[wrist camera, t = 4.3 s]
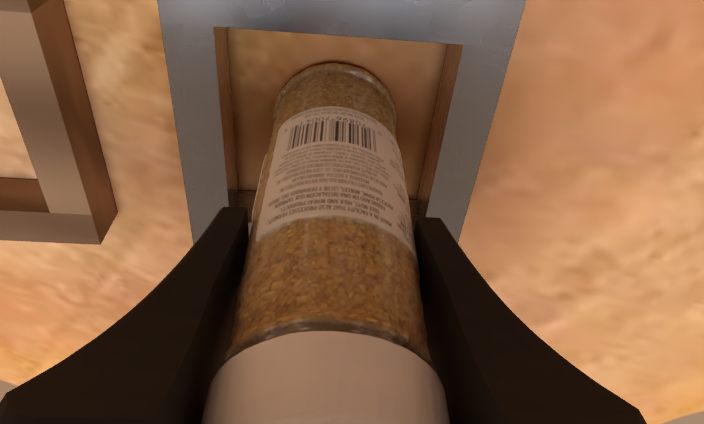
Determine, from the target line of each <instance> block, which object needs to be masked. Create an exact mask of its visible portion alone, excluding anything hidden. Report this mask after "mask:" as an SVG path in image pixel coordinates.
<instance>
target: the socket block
mask: <svg viewBox="0 0 704 424" xmlns="http://www.w3.org/2000/svg"><path fill="white" fill-rule="evenodd" d="M525 2H526V0H157V3H158V10H159V16H160V23H161V30H162V37H163V43H164V50H165V57H166V63H167V70H168V77H169V83H170V90H171V97H172V104H173V110H174V117H175V124H176V130H177V137H178V144H179V151H180V157H181V164H182V171H183V177H184V184H185V191H186V197H187V204H188V211H189V218H190V224H191V231H192V238H193V244H195V243H196V242H197V241H198V239H199V238H200V237H201V235H202V234H203V233H204V231H205V230H206V229H207V227H208V226H209V225H210V223H211V222H212V220H213V219H214V218H215V216H216V215H217V213H218V212H219V210H220V209H221V208H223V207H239V208H247V210H248V227H249V236H250V232H251V228H252V211H253V206H254V201H255V197H256V192H257V191H239V190H238V182H237V168H236V154H235V139H234V125H233V111H232V97H231V82H230V68H229V54H228V40H227V27H228V28H242V29H255V30H269V31H283V32H296V33H310V34H323V35H337V36H351V37H364V38H378V39H391V40H405V41H419V42H432V43H446V44H448V46H447V51H446V56H445V61H444V66H443V71H442V76H441V81H440V86H439V91H438V96H437V101H436V106H435V111H434V116H433V121H432V126H431V131H430V136H429V141H428V146H427V151H426V156H425V161H424V166H423V171H422V176H421V181H420V186H419V191H418V196H417V200H409V207H410V214H411V221H412V227H413V233H414V229H415V224H416V219H417V217H434V218H440V219H441V220H442V221H443V222H444V224H445V225H446V227H447V228H448V230H449V231H450V233H451V234H452V236H453V237H454V239H455V240H456V242H457V243H458V241H459V237H460V233H461V230H462V226H463V223H464V219H465V216H466V212H467V209H468V205H469V201H470V198H471V194H472V191H473V187H474V184H475V180H476V177H477V173H478V169H479V166H480V162H481V159H482V155H483V152H484V148H485V145H486V141H487V137H488V134H489V130H490V127H491V123H492V120H493V116H494V113H495V109H496V105H497V102H498V98H499V95H500V91H501V88H502V84H503V81H504V77H505V73H506V70H507V66H508V63H509V59H510V56H511V52H512V49H513V45H514V41H515V38H516V34H517V31H518V27H519V24H520V20H521V16H522V13H523V9H524V6H525Z"/></svg>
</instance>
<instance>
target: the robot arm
mask: <svg viewBox="0 0 704 424" xmlns="http://www.w3.org/2000/svg"><path fill="white" fill-rule="evenodd" d="M414 240H415V246H416V252H417V258H418V265H419V273H420V294H421V300H422V304H423V315H424V320H425V327H426V332H427V341H428V349H429V354H430V357H431V360H432V362H433V363H434V365H435V368H436V370H437V373H438V377H439V379H440V381H441V383H442V385H443V387H444V390H445V396H446V402H447V408H448V413H449V419H450V424H647V423H646V422H645V420H644V418H643V416H642V415H641V413H640V411H639V409H637V408H636V407H634V406H632V405H631V404H629V403H628V402H626V401H625V400H623V399H621V398H620V397H618V396H617V395H615V394H614V393H612V392H611V391H609V390H607V389H606V388H604V387H603V386H601V385H600V384H598V383H597V382H595V381H594V380H593V379H591V378H590V377H588V376H587V375H586V374H584V373H583V372H582V371H580V370H579V369H577V368H576V367H575V366H573V365H572V364H571V363H569V362H568V361H567V360H566V359H564V358H563V357H562V356H560V355H559V354H558V353H557V352H556V351H554V350H553V349H552V348H551V347H550V346H549V345H547V344H546V343H545V342H544V341H543V340H541V339H540V338H539V337H538V336H537V335H536V334H535V333H534V332H532V331H531V330H530V329H529V328H528V327H527V326H526V325H525V324H524V323H523V322H522V321H521V320H520V319H519V318H518V317H517V316H516V315H515V314H514V313H513V312H512V311H511V310H510V309H509V308H508V307H507V306H506V305H505V303H504V302H503V301H502V300H501V299H500V298H499V297H498V296H497V294H496V293H495V292H494V291H493V290H492V289H491V287H490V286H489V285H488V284H487V282H486V281H485V280H484V279H483V277H482V276H481V275H480V274H479V272H478V271H477V270H476V268H475V267H474V266H473V264H472V263H471V262H470V260H469V259H468V258H467V256H466V255H465V253H464V252H463V251H462V249H461V248H460V246H459V245H458V243H457V242H456V240H455V239H454V237H453V236H452V234H451V233H450V231H449V230H448V228H447V227H446V225H445V224H444V222H443V221H442V220H441V219H440V218H434V217H417V219H416V224H415V229H414ZM248 242H249V227H248V210H247V208H239V207H223V208H221V209H220V210H219V212H218V213H217V215H216V216H215V218H214V219H213V220H212V222H211V223H210V225H209V226H208V227H207V229H206V230H205V231H204V233H203V234H202V235H201V237H200V238H199V239H198V241H197V242H196V243H195V244H194V245H193V247H192V248H191V249H190V250H189V251H188V253H187V254H186V255H185V256H184V257H183V259H182V260H181V261H180V262H179V263H178V264H177V265H176V267H175V268H174V269H173V270H172V271H171V272H170V273H169V274H168V275H167V276H166V277H165V278H164V279H163V280H162V281H161V283H160V284H159V285H158V286H157V287H156V288H155V289H154V290H153V291H151V292H150V293H149V294H148V295H147V296H146V297H145V298H144V299H143V300H142V301H141V302H140V303H139V304H137V305H136V306H135V307H134V308H133V309H132V310H131V311H129V312H128V313H127V314H126V315H125V316H123V317H122V318H121V319H120V320H118V321H117V322H116V323H115V324H114V325H112V326H111V327H110V328H109V329H107V330H106V331H105V332H103V333H102V334H101V335H99V336H98V337H97V338H95V339H94V340H92V341H91V342H89V343H88V344H86V345H85V346H84V347H82V348H81V349H79V350H78V351H76V352H75V353H73V354H72V355H70V356H69V357H67V358H66V359H64V360H63V361H61V362H60V363H58V364H56V365H55V366H53V367H52V368H50V369H48V370H46V371H45V372H43V373H41V374H39V375H38V376H36V377H34V378H32V379H31V380H29V381H27V382H25V383H24V384H22V385H20V386H18V387H17V388H15V389H13V390H11V391H9V392H7V393H6V394H5V396H4V397H3V399H2V401H1V402H0V424H201V420H202V416H203V411H204V407H205V402H206V398H207V393H208V390H209V386H210V384H211V382H212V380H213V378H214V377H215V375H216V374H217V372H216V371H217V368H218V365H219V363H220V361H221V359H222V358H223V356H224V354H225V353H226V352H227V351H228V343H229V338H230V334H231V330H232V327H233V320H234V314H235V308H236V305H237V295H238V290H239V287H240V283H241V277H242V274H243V267H244V264H245V258H246V251H247V247H248Z"/></svg>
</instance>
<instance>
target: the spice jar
mask: <svg viewBox="0 0 704 424" xmlns="http://www.w3.org/2000/svg"><path fill="white" fill-rule="evenodd" d="M273 121H274V126H273V131H272V137H271V140H270V145H269V150H268V152H267V153H266V155H265V157H264V161H263V166H262V170H261V174H260V179H259V183H258V188H257V192H256V197H255V201H254V206H253V211H252V228H251V232H250V236H249V242H248V247H247V251H246V258H245V264H244V267H243V274H242V277H241V283H240V287H239V290H238V295H237V305H236V308H235V314H234V320H233V327H232V330H231V334H230V338H229V343H228V351H227V352H226V353H225V354H224V356H223V358H222V359H221V361H220V363H219V365H218V368H217V371H216V372H217V374H216V375H215V377H214V378H213V380H212V382H211V384H210V386H209V390H208V393H207V398H206V402H205V407H204V411H203V416H202V420H201V424H450V419H449V413H448V408H447V402H446V396H445V390H444V387H443V385H442V383H441V381H440V379H439V377H438V373H437V370H436V368H435V365H434V363H433V362H432V360H431V357H430V354H429V349H428V341H427V332H426V327H425V320H424V315H423V304H422V300H421V294H420V273H419V265H418V258H417V252H416V246H415V240H414V233H413V227H412V221H411V214H410V207H409V200H408V194H407V187H406V181H405V175H404V169H403V163H402V157H401V153H400V150H399V147H398V143H397V138H396V124H397V116H396V109H395V104H394V102H393V100H392V98H391V96H390V94H389V92H388V90H387V89H386V88H385V87H384V85H383V84H382V83H381V82H380V81H379V80H378V79H376V78H375V77H374V76H373V75H372V74H370V73H369V72H367V71H365V70H364V69H361V68H358V67H355V66H352V65H348V64H338V63H327V64H322V65H315V66H312V67H309V68H307V69H306V70H304V71H302V72H300V73H299V74H297V75H296V76H295V77H293V78H291V79H290V81H289V82H288V83H287V84H286V85H285V86H284V88H283V89H282V90H281V91H280V93H279V94H278V97H277V99H276V103H275V108H274V111H273Z"/></svg>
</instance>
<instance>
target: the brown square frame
mask: <svg viewBox="0 0 704 424" xmlns="http://www.w3.org/2000/svg"><path fill="white" fill-rule="evenodd" d="M0 77H1V80H2V82H3V85H4V88H5V91H6V93H7V96H8V99H9V102H10V104H11V107H12V110H13V113H14V115H15V118H16V121H17V124H18V126H19V129H20V132H21V135H22V137H23V140H24V143H25V146H26V148H27V151H28V154H29V156H30V159H31V162H32V165H33V167H34V170H35V173H36V176H37V178H38V180H33V179H14V178H0V240H10V241H32V242H54V243H76V244H98V245H101V243H102V241H103V239H104V237H105V235H106V234H107V232H108V230H109V228H110V226H111V224H112V222H113V220H114V219H115V217H116V215H117V213H118V212H117V208H116V204H115V200H114V196H113V193H112V189H111V185H110V181H109V177H108V173H107V169H106V166H105V162H104V158H103V154H102V150H101V146H100V142H99V139H98V135H97V131H96V127H95V123H94V119H93V115H92V112H91V108H90V104H89V100H88V96H87V92H86V88H85V85H84V81H83V77H82V73H81V69H80V65H79V61H78V58H77V54H76V50H75V46H74V42H73V38H72V34H71V31H70V27H69V23H68V19H67V15H66V11H65V7H64V4H63V0H0Z"/></svg>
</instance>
